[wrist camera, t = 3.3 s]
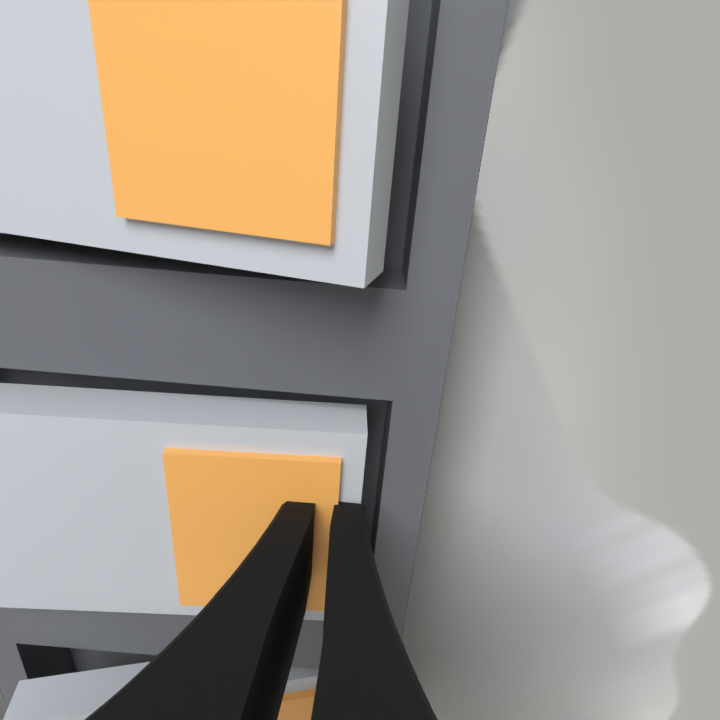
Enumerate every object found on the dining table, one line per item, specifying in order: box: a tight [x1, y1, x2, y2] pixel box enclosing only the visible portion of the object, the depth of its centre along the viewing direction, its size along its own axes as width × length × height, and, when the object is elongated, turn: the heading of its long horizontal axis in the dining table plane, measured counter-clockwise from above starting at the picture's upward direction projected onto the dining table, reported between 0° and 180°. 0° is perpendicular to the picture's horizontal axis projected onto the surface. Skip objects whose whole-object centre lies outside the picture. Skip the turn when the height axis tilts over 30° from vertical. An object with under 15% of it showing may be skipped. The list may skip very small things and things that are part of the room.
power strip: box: [0, 0, 508, 709], centre depth 13 cm, size 12×28×4 cm, turn 176°
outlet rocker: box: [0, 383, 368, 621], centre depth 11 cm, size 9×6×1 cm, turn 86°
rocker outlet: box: [0, 0, 409, 288], centre depth 7 cm, size 9×6×1 cm, turn 86°
